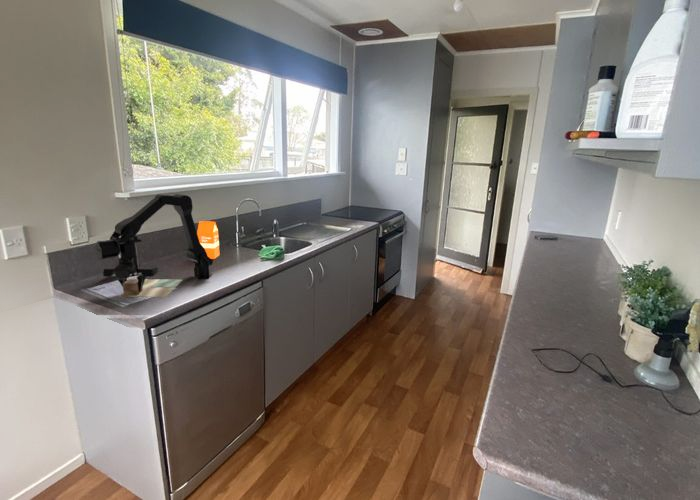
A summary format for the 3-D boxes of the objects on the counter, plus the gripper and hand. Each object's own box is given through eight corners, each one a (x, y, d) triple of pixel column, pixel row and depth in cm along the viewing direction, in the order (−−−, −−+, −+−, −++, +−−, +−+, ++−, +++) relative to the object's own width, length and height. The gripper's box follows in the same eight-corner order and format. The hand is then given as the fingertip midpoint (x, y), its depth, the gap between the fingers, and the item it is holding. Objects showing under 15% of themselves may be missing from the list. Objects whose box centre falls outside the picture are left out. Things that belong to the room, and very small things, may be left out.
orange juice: (214, 259, 202) (212, 223, 197) (198, 258, 202) (195, 222, 197) (219, 255, 210) (217, 220, 204) (204, 254, 210) (201, 219, 204)
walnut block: (142, 290, 153) (141, 279, 152) (137, 295, 148) (135, 283, 147) (130, 290, 153) (128, 279, 151) (124, 295, 148) (122, 283, 146)
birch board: (183, 281, 167) (182, 279, 167) (166, 299, 148) (165, 296, 148) (141, 281, 166) (140, 279, 165) (118, 299, 146) (118, 296, 146)
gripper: (91, 259, 137) (97, 298, 142) (144, 260, 139) (148, 298, 143) (107, 251, 148) (113, 288, 152) (156, 252, 150) (160, 288, 154)
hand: (133, 291), depth 150 cm, fingers closed on walnut block, 5 cm apart
